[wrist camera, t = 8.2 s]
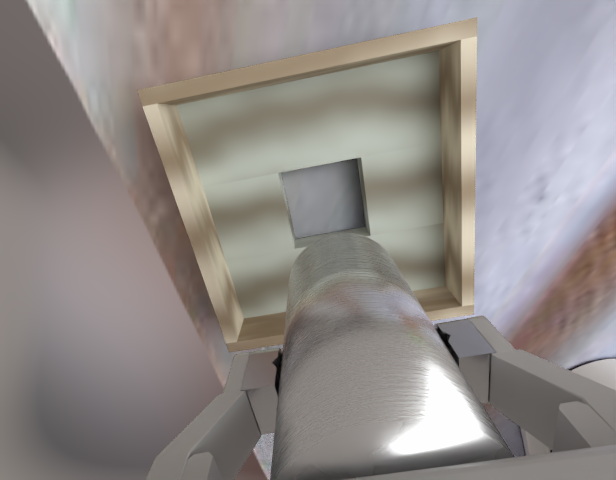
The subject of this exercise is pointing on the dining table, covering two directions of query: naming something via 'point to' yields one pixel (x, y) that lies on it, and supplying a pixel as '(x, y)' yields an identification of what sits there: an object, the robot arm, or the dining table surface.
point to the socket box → (322, 150)
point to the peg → (368, 374)
